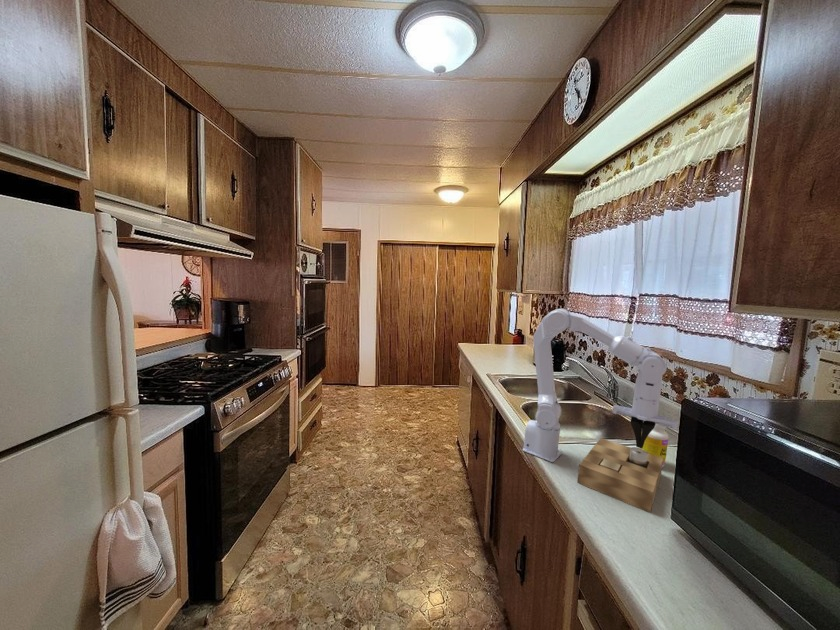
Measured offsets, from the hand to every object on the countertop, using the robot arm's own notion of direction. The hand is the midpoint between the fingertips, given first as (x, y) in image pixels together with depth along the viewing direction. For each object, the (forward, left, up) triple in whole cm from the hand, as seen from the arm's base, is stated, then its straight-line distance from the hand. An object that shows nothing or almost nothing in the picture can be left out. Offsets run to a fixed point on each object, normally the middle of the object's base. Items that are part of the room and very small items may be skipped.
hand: (639, 446), depth 91 cm
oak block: (-3, -3, -9) cm, 10 cm away
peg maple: (-5, -8, -9) cm, 13 cm away
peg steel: (0, 0, -6) cm, 6 cm away
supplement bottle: (+2, +14, -10) cm, 17 cm away
